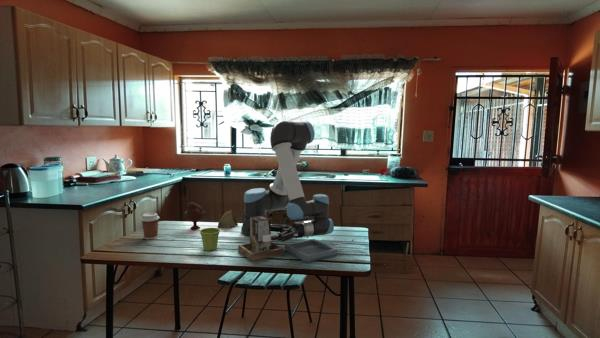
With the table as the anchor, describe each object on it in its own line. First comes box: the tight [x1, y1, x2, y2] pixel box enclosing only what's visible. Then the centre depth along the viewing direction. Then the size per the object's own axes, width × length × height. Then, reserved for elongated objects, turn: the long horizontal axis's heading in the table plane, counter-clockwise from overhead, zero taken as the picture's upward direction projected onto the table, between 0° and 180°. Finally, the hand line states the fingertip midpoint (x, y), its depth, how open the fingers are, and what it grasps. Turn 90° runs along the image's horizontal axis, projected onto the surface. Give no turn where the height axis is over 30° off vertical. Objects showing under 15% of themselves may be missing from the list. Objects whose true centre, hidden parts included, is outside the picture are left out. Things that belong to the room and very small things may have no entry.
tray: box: [284, 238, 338, 264], centre depth 162 cm, size 18×16×3 cm
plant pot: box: [199, 227, 221, 252], centre depth 168 cm, size 9×9×9 cm
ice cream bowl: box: [183, 201, 206, 231], centre depth 200 cm, size 11×11×15 cm
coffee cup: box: [140, 212, 161, 240], centre depth 184 cm, size 9×9×12 cm
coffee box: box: [249, 216, 272, 254], centre depth 161 cm, size 9×6×16 cm
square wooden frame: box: [237, 241, 284, 262], centre depth 162 cm, size 15×15×3 cm
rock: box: [217, 209, 239, 228], centre depth 206 cm, size 11×9×10 cm
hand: (258, 234), depth 160 cm, fingers open, 13 cm apart
